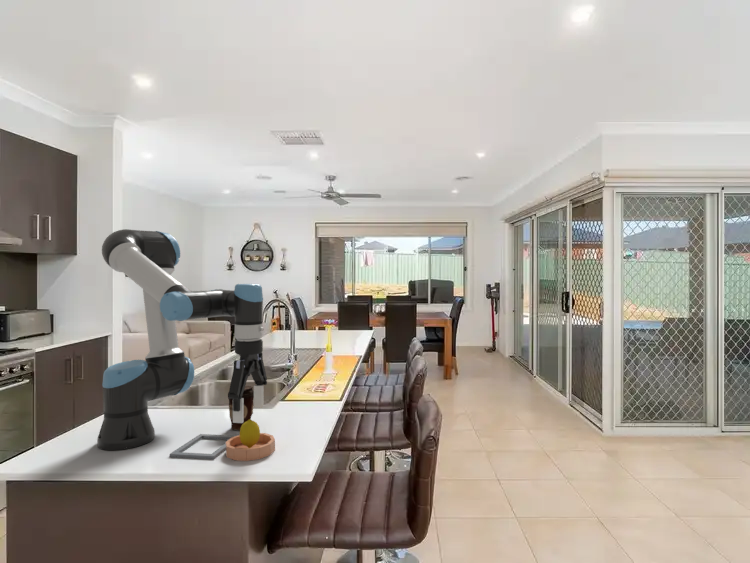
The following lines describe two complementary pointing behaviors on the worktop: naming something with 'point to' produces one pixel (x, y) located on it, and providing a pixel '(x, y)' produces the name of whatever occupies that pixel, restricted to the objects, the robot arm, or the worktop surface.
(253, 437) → the lemon
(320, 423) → the worktop surface
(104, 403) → the robot arm
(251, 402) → the coffee cup
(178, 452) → the gray rectangular frame
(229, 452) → the bowl
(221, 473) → the worktop surface
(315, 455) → the worktop surface
